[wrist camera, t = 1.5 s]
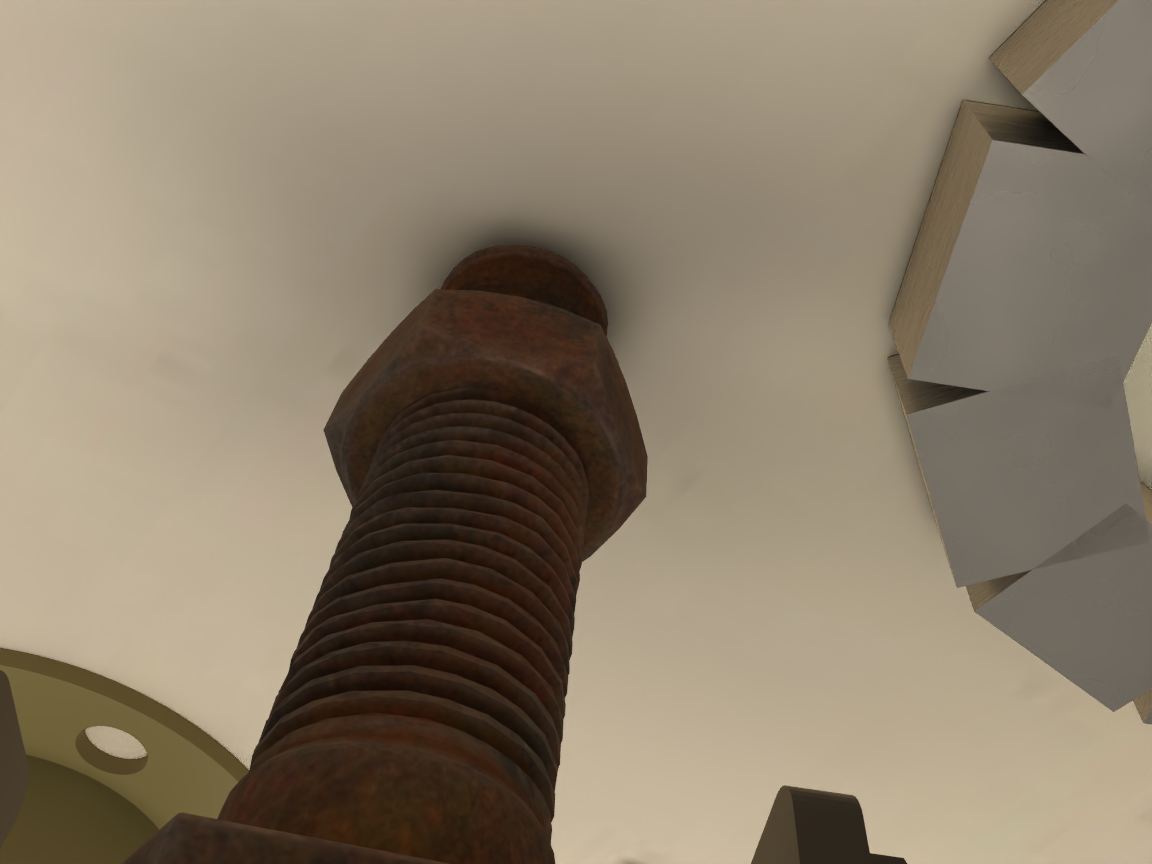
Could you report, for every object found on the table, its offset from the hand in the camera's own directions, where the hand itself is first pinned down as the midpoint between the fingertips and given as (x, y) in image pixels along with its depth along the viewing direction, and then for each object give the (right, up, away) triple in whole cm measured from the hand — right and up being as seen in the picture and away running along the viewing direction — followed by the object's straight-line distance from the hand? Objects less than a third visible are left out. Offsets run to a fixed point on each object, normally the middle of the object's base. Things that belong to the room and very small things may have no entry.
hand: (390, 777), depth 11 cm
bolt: (+1, +6, +9) cm, 11 cm away
